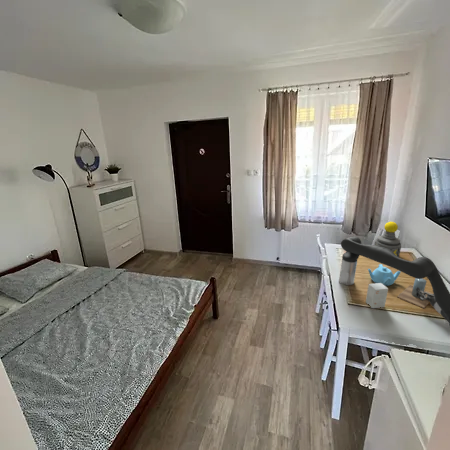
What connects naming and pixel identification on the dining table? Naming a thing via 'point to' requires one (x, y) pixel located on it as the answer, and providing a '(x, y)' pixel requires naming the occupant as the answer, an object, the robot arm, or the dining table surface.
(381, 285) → the small box
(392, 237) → the toy tesla coil
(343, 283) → the robot arm
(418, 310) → the dining table surface
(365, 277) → the dining table surface
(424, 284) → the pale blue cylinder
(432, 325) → the dining table surface
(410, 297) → the placemat
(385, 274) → the teapot
